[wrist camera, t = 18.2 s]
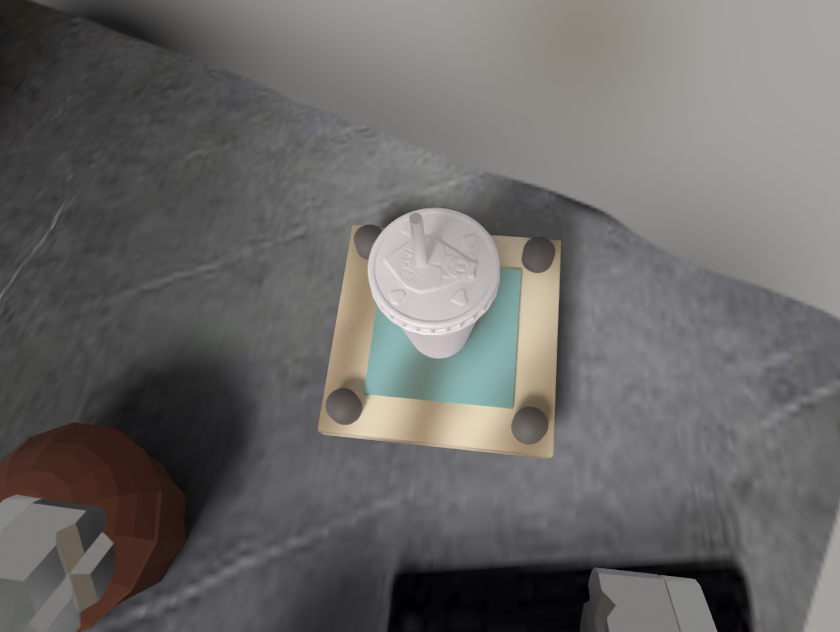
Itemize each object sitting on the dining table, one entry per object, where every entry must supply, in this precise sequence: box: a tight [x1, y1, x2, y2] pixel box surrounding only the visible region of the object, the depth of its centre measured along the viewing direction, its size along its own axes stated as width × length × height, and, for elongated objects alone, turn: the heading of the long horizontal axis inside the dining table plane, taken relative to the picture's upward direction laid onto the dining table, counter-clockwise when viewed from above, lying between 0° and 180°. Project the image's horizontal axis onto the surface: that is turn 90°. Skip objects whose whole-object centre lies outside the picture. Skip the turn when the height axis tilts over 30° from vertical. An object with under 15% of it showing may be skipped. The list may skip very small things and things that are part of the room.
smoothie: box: [368, 208, 500, 359], centre depth 30 cm, size 6×6×14 cm
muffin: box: [0, 423, 187, 632], centre depth 34 cm, size 12×11×10 cm
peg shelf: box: [318, 225, 561, 459], centre depth 39 cm, size 14×14×6 cm
